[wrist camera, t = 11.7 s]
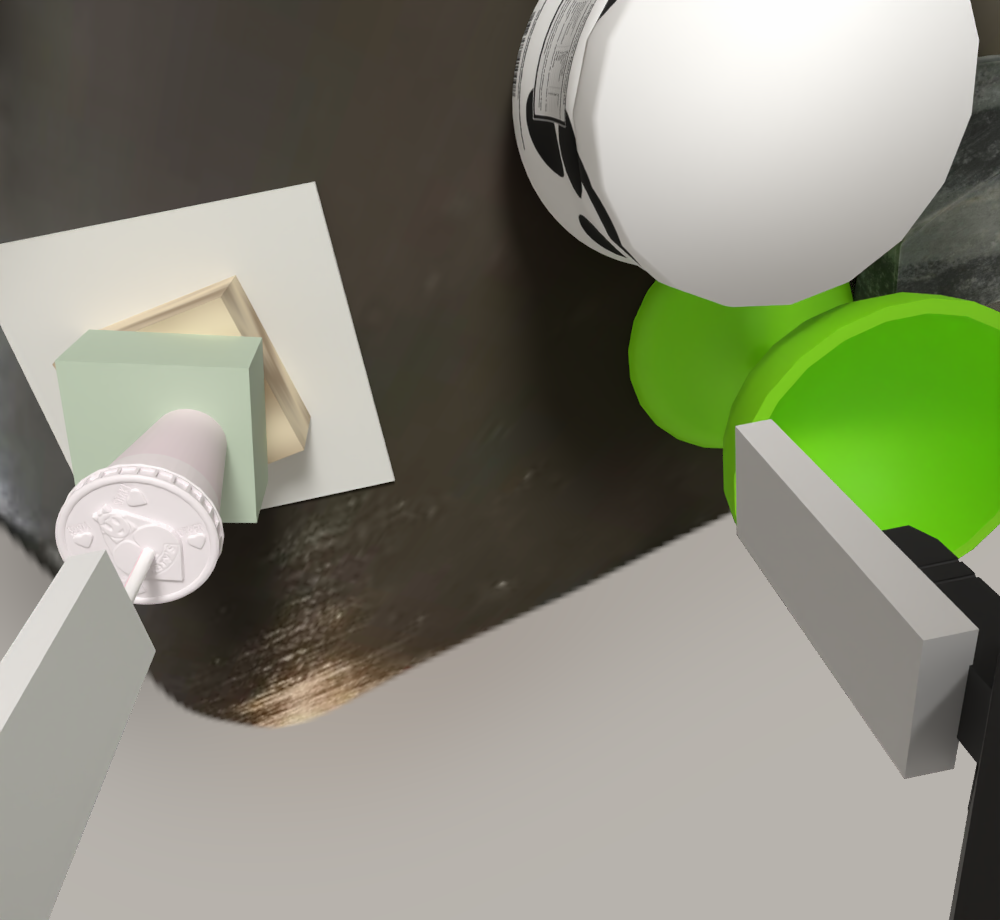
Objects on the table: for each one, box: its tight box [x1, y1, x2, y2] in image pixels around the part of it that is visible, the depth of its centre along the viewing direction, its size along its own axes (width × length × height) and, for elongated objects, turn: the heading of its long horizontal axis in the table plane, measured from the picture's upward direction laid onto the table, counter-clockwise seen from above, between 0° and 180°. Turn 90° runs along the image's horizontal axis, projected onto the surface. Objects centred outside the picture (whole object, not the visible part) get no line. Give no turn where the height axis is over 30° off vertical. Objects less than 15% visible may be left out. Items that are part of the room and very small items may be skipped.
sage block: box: [55, 329, 268, 523], centre depth 43 cm, size 9×9×5 cm
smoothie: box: [55, 409, 227, 604], centre depth 34 cm, size 6×6×14 cm
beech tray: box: [52, 275, 311, 464], centre depth 47 cm, size 10×10×5 cm
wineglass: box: [628, 280, 1000, 559], centre depth 46 cm, size 16×16×18 cm
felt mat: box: [0, 182, 395, 510], centre depth 49 cm, size 20×20×1 cm
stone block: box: [853, 55, 1000, 305], centre depth 48 cm, size 9×14×5 cm, turn 7°
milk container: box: [512, 0, 979, 307], centre depth 38 cm, size 17×17×18 cm
